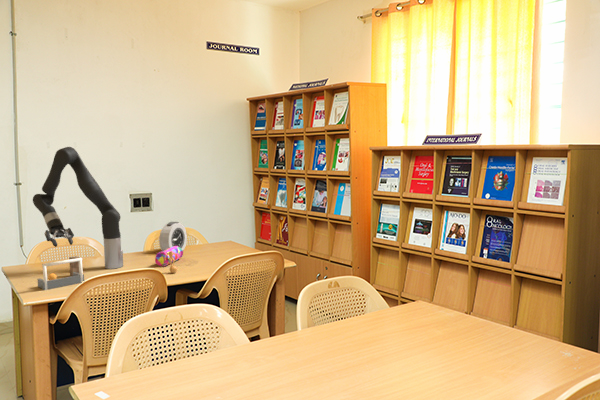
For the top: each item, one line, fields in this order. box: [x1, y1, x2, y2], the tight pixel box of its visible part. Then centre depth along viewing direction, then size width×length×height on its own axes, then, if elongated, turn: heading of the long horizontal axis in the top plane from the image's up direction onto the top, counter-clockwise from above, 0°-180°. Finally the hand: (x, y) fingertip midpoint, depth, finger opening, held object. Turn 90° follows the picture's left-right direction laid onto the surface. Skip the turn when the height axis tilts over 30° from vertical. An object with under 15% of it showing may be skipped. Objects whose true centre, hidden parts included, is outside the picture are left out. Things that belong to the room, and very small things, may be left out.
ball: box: [47, 273, 58, 281], centre depth 256 cm, size 4×4×4 cm
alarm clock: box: [158, 221, 188, 252], centre depth 332 cm, size 21×8×20 cm, turn 160°
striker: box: [68, 255, 81, 277], centre depth 267 cm, size 4×4×10 cm
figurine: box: [165, 251, 179, 274], centre depth 271 cm, size 8×6×12 cm
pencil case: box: [154, 246, 184, 267], centre depth 296 cm, size 22×9×9 cm, turn 170°
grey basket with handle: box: [37, 257, 85, 291], centre depth 248 cm, size 20×9×13 cm, turn 137°
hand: (64, 244), depth 273 cm, fingers open, 8 cm apart
